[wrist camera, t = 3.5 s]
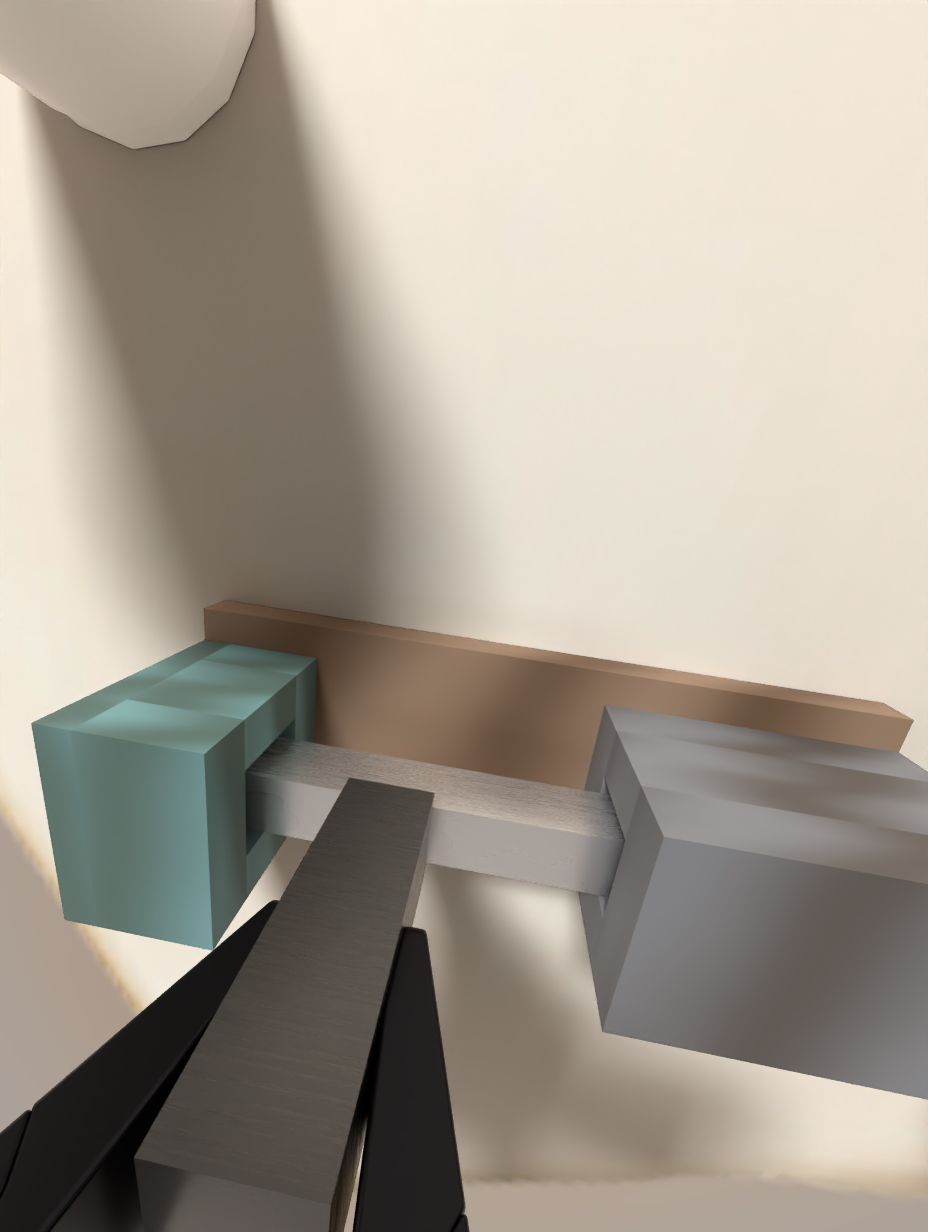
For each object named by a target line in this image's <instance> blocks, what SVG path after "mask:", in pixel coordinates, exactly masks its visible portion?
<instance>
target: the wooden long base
mask: <svg viewBox="0 0 928 1232" xmlns="http://www.w3.org/2000/svg"><path fill="white" fill-rule="evenodd" d="M204 624H205V640H204V641H202V642H200V643H198V644H196V645H193V646H191V647H189V648H187V649H185V650H183V651H181V652H179V653H177V654H175V655H173V656H170V657H168V658H166V659H164V660H162V661H160V662H158V663H156V664H154V665H152V666H150V667H148V668H145V669H143V670H141V671H139V672H137V673H135V674H133V675H131V676H129V677H127V678H125V679H123V680H120V681H118V682H116V683H114V684H112V685H110V686H108V687H106V688H104V689H102V690H100V691H97V692H95V693H93V694H91V695H89V696H87V697H85V698H83V699H81V700H79V701H77V702H75V703H72V704H70V705H68V706H66V707H64V708H62V709H60V710H58V711H56V712H54V713H52V714H49V715H47V716H45V717H43V718H41V719H39V720H37V721H35V722H33V723H31V724H32V730H33V736H34V742H35V748H36V754H37V760H38V766H39V771H40V777H41V783H42V789H43V795H44V801H45V807H46V813H47V819H48V825H49V830H50V836H51V842H52V848H53V854H54V860H55V866H56V872H57V878H58V884H59V890H60V895H61V901H62V907H63V913H64V919H65V920H68V921H73V922H78V923H83V924H88V925H92V926H97V927H102V928H107V929H112V930H116V931H121V932H126V933H131V934H136V935H140V936H145V937H150V938H155V939H160V940H164V941H169V942H174V943H179V944H184V945H188V946H193V947H198V948H203V949H208V950H212V951H213V950H214V948H215V947H216V945H217V943H218V942H219V940H220V939H221V937H222V936H223V934H224V933H225V931H226V930H227V928H228V927H229V925H230V923H231V922H232V920H233V919H234V917H235V916H236V914H237V913H238V911H239V910H240V908H241V907H242V905H243V903H244V902H245V900H246V899H247V897H248V896H249V894H250V893H251V891H252V890H253V888H254V887H255V885H256V884H257V882H258V880H259V879H260V877H261V876H262V874H263V873H264V871H265V870H266V868H267V867H268V865H269V864H270V862H271V860H272V859H273V857H274V856H275V854H276V853H277V851H278V850H279V848H280V847H281V845H282V844H283V842H284V840H285V839H286V837H287V836H283V835H277V834H272V833H267V832H261V831H256V830H251V829H246V793H245V771H246V770H247V769H248V768H249V767H250V765H251V764H252V763H253V762H254V761H255V760H256V759H257V758H258V757H259V756H260V755H261V754H262V753H263V752H264V751H265V750H266V749H267V748H268V747H269V746H270V745H271V743H272V742H273V741H274V740H275V739H276V738H277V737H281V738H287V739H293V740H299V741H304V742H310V743H316V744H322V745H327V746H333V747H339V748H344V749H350V750H356V751H362V752H367V753H373V754H379V755H384V756H390V757H396V758H402V759H407V760H413V761H419V762H424V763H430V764H436V765H442V766H447V767H453V768H459V769H464V770H470V771H476V772H482V773H487V774H493V775H499V776H505V777H510V778H516V779H522V780H527V781H533V782H539V783H545V784H550V785H556V786H562V787H567V788H573V789H579V790H585V791H590V792H596V793H602V794H607V795H610V796H611V799H612V802H613V805H614V808H615V811H616V814H617V817H618V820H619V823H620V826H621V829H622V832H623V835H624V838H625V843H624V847H623V850H622V854H621V857H620V861H619V864H618V868H617V871H616V875H615V878H614V882H613V885H612V889H611V892H610V896H609V897H605V896H600V895H594V894H589V893H584V892H578V893H579V899H580V905H581V911H582V917H583V922H584V928H585V934H586V940H587V946H588V951H589V957H590V963H591V969H592V975H593V981H594V986H595V992H596V998H597V1004H598V1010H599V1016H600V1021H601V1027H602V1032H606V1033H611V1034H616V1035H620V1036H625V1037H630V1038H635V1039H640V1040H644V1041H649V1042H654V1043H659V1044H664V1045H668V1046H673V1047H678V1048H683V1049H688V1050H692V1051H697V1052H702V1053H707V1054H712V1055H716V1056H721V1057H726V1058H731V1059H736V1060H740V1061H745V1062H750V1063H755V1064H760V1065H764V1066H769V1067H774V1068H779V1069H784V1070H788V1071H793V1072H798V1073H803V1074H808V1075H812V1076H817V1077H822V1078H827V1079H832V1080H836V1081H841V1082H846V1083H851V1084H856V1085H860V1086H865V1087H870V1088H875V1089H880V1090H884V1091H889V1092H894V1093H899V1094H904V1095H908V1096H913V1097H918V1098H923V1099H928V772H927V771H926V770H924V769H923V768H921V767H920V766H918V765H917V764H915V763H914V762H912V761H911V760H909V759H908V758H906V757H905V756H903V755H902V754H900V753H899V751H900V748H901V746H902V744H903V742H904V740H905V738H906V736H907V734H908V731H909V729H910V727H911V725H912V723H913V721H914V720H913V719H911V718H909V717H907V716H905V715H904V714H902V713H900V712H898V711H896V710H895V709H893V708H891V707H889V706H888V705H886V704H884V703H880V702H873V701H867V700H861V699H854V698H848V697H841V696H835V695H829V694H822V693H816V692H809V691H803V690H796V689H790V688H784V687H777V686H771V685H764V684H758V683H752V682H745V681H739V680H732V679H726V678H720V677H713V676H707V675H700V674H694V673H688V672H681V671H675V670H668V669H662V668H655V667H649V666H643V665H636V664H630V663H623V662H617V661H611V660H604V659H598V658H591V657H585V656H579V655H572V654H566V653H559V652H553V651H546V650H540V649H534V648H527V647H521V646H514V645H508V644H502V643H495V642H489V641H482V640H476V639H470V638H463V637H457V636H450V635H444V634H438V633H431V632H425V631H418V630H412V629H405V628H399V627H393V626H386V625H380V624H373V623H367V622H361V621H354V620H348V619H341V618H335V617H329V616H322V615H316V614H309V613H303V612H297V611H290V610H284V609H277V608H271V607H264V606H258V605H252V604H245V603H239V602H232V601H226V600H225V601H222V602H219V603H217V604H214V605H211V606H209V607H206V608H204Z"/></svg>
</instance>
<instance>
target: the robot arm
mask: <svg viewBox="0 0 928 1232" xmlns="http://www.w3.org/2000/svg"><path fill="white" fill-rule="evenodd" d="M278 902H279V900H273V901H271V902H269V903H268V904H267V905H266V906H264V907H263V908H262V909H261V910H260V911H259V912H257V913H256V914H255V915H254V916H253V917H252V918H250V919H249V920H248V921H247V922H246V923H245V924H243V925H242V926H241V927H240V928H239V929H238V930H236V931H235V932H234V933H233V934H232V935H231V936H229V937H228V938H227V939H226V940H225V941H224V942H222V943H221V944H220V945H219V946H218V947H217V948H215V949H214V950H213V951H212V952H211V953H210V954H208V955H207V956H206V957H205V958H204V959H203V960H201V961H200V962H199V963H198V964H197V965H196V966H194V967H193V968H192V969H191V970H190V971H189V972H187V973H186V974H185V975H184V976H183V977H182V978H181V979H179V980H178V981H177V982H176V983H175V984H174V985H172V986H171V987H170V988H169V989H168V990H167V991H165V992H164V993H163V994H162V995H161V996H160V997H158V998H157V999H156V1000H155V1001H154V1002H153V1003H151V1004H150V1005H149V1006H148V1007H147V1008H146V1009H144V1010H143V1011H142V1012H141V1013H140V1014H139V1015H137V1016H136V1017H135V1018H134V1019H133V1020H132V1021H130V1022H129V1023H128V1024H127V1025H126V1026H125V1027H123V1028H122V1029H121V1030H120V1031H119V1032H118V1033H116V1034H115V1035H114V1036H113V1037H112V1038H111V1039H109V1040H108V1041H107V1042H106V1043H105V1044H104V1045H102V1046H101V1047H100V1048H99V1049H98V1050H97V1051H95V1052H94V1053H93V1054H92V1055H91V1056H90V1057H88V1058H87V1059H86V1060H85V1061H84V1062H83V1063H82V1064H80V1065H79V1066H78V1067H77V1068H76V1069H75V1070H73V1071H72V1072H71V1073H70V1074H69V1075H68V1076H66V1077H65V1078H64V1079H63V1080H62V1081H61V1082H59V1083H58V1084H57V1085H56V1086H55V1087H54V1088H52V1089H51V1090H50V1091H49V1092H48V1093H47V1094H45V1095H44V1096H43V1097H42V1098H41V1099H40V1100H38V1101H37V1102H36V1103H35V1104H34V1106H33V1108H32V1111H31V1110H27V1111H25V1112H24V1113H23V1114H22V1115H21V1116H19V1117H18V1118H17V1119H16V1120H15V1121H14V1122H12V1123H11V1124H10V1125H9V1126H8V1127H7V1128H6V1129H4V1130H3V1131H2V1132H1V1133H0V1232H144V1227H143V1220H142V1213H141V1206H140V1199H139V1191H138V1184H137V1177H136V1170H135V1163H134V1156H135V1155H136V1153H137V1151H138V1149H139V1148H140V1146H141V1144H142V1142H143V1141H144V1139H145V1137H146V1135H147V1133H148V1132H149V1130H150V1128H151V1126H152V1125H153V1123H154V1121H155V1119H156V1118H157V1116H158V1114H159V1112H160V1111H161V1109H162V1107H163V1105H164V1103H165V1102H166V1100H167V1098H168V1096H169V1095H170V1093H171V1091H172V1089H173V1088H174V1086H175V1084H176V1082H177V1081H178V1079H179V1077H180V1075H181V1073H182V1072H183V1070H184V1068H185V1066H186V1065H187V1063H188V1061H189V1059H190V1058H191V1056H192V1054H193V1052H194V1051H195V1049H196V1047H197V1045H198V1043H199V1042H200V1040H201V1038H202V1036H203V1035H204V1033H205V1031H206V1029H207V1028H208V1026H209V1024H210V1022H211V1021H212V1019H213V1017H214V1015H215V1013H216V1012H217V1010H218V1008H219V1006H220V1005H221V1003H222V1001H223V999H224V998H225V996H226V994H227V992H228V991H229V989H230V987H231V985H232V983H233V982H234V980H235V978H236V976H237V975H238V973H239V971H240V969H241V968H242V966H243V964H244V962H245V961H246V959H247V957H248V955H249V953H250V952H251V950H252V948H253V946H254V945H255V943H256V941H257V939H258V938H259V936H260V934H261V932H262V931H263V929H264V927H265V925H266V923H267V922H268V920H269V918H270V916H271V915H272V913H273V911H274V909H275V908H276V906H277V904H278ZM464 1212H465V1200H464V1192H463V1185H462V1178H461V1171H460V1164H459V1157H458V1150H457V1143H456V1136H455V1129H454V1122H453V1115H452V1108H451V1101H450V1094H449V1087H448V1080H447V1073H446V1066H445V1059H444V1052H443V1045H442V1038H441V1031H440V1024H439V1017H438V1010H437V1003H436V996H435V989H434V982H433V975H432V967H431V960H430V953H429V946H428V939H427V934H426V931H425V930H423V929H419V928H414V927H409V926H407V927H405V929H404V932H403V936H402V939H401V943H400V947H399V951H398V954H397V958H396V962H395V966H394V970H393V973H392V977H391V981H390V985H389V989H388V992H387V996H386V1000H385V1004H384V1008H383V1012H382V1016H381V1020H380V1026H379V1033H378V1041H377V1049H376V1056H375V1064H374V1071H373V1079H372V1087H371V1094H370V1102H369V1110H368V1117H367V1125H366V1132H365V1140H364V1148H363V1155H362V1163H361V1171H360V1178H359V1186H358V1193H357V1201H356V1209H355V1217H354V1224H353V1232H469V1226H468V1219H467V1216H466V1215H465V1214H464Z"/></svg>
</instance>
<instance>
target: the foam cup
mask: <svg viewBox="0 0 928 1232" xmlns="http://www.w3.org/2000/svg"><path fill="white" fill-rule="evenodd" d="M255 2H256V0H0V73H1V74H2V75H4V76H5V77H7V78H8V79H10V80H11V81H13V82H14V83H16V84H17V85H18V86H20V87H21V88H23V89H24V90H26V91H27V92H29V93H30V94H32V95H33V96H35V97H36V98H38V99H39V100H41V101H42V102H44V103H45V104H47V105H48V106H49V107H51V108H52V109H55V110H57V111H59V112H61V113H64V114H66V115H67V116H69V117H70V118H71V119H72V120H73V121H74V122H76V123H77V124H78V125H79V126H80V127H83V128H85V129H87V130H90V131H92V132H94V133H96V134H99V135H101V136H103V137H106V138H108V139H110V140H113V141H115V142H117V143H120V144H122V145H124V146H127V147H129V148H131V149H138V148H144V147H150V146H156V145H162V144H168V143H173V142H179V141H185V140H187V139H188V138H189V137H190V136H191V135H192V134H193V133H194V132H195V131H196V130H197V129H198V128H199V127H200V126H202V125H203V124H204V123H205V122H206V121H207V120H208V119H209V118H210V117H211V116H212V115H213V114H214V113H215V112H216V111H218V110H219V109H220V108H221V107H222V106H223V105H224V104H225V103H226V102H227V101H228V100H229V98H230V96H231V93H232V90H233V88H234V85H235V83H236V80H237V77H238V75H239V72H240V70H241V67H242V64H243V62H244V59H245V57H246V54H247V51H248V49H249V46H250V44H251V41H252V38H253V36H254V33H255Z"/></svg>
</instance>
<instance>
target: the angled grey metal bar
mask: <svg viewBox="0 0 928 1232" xmlns="http://www.w3.org/2000/svg"><path fill="white" fill-rule="evenodd" d="M245 793H246V829H251V830H256V831H261V832H267V833H272V834H277V835H283V836H288V837H293V838H298V839H304V840H309V841H313V842H312V844H311V846H310V848H309V849H308V851H307V853H306V855H305V856H304V858H303V860H302V862H301V863H300V865H299V867H298V869H297V871H296V872H295V874H294V876H293V878H292V879H291V881H290V883H289V885H288V886H287V888H286V890H285V892H284V893H283V895H282V897H281V899H280V901H279V902H278V904H277V906H276V908H275V909H274V911H273V913H272V915H271V916H270V918H269V920H268V922H267V923H266V925H265V927H264V929H263V931H262V932H261V934H260V936H259V938H258V939H257V941H256V943H255V945H254V946H253V948H252V950H251V952H250V953H249V955H248V957H247V959H246V961H245V962H244V964H243V966H242V968H241V969H240V971H239V973H238V975H237V976H236V978H235V980H234V982H233V983H232V985H231V987H230V989H229V991H228V992H227V994H226V996H225V998H224V999H223V1001H222V1003H221V1005H220V1006H219V1008H218V1010H217V1012H216V1013H215V1015H214V1017H213V1019H212V1021H211V1022H210V1024H209V1026H208V1028H207V1029H206V1031H205V1033H204V1035H203V1036H202V1038H201V1040H200V1042H199V1043H198V1045H197V1047H196V1049H195V1051H194V1052H193V1054H192V1056H191V1058H190V1059H189V1061H188V1063H187V1065H186V1066H185V1068H184V1070H183V1072H182V1073H181V1075H180V1077H179V1079H178V1081H177V1082H176V1084H175V1086H174V1088H173V1089H172V1091H171V1093H170V1095H169V1096H168V1098H167V1100H166V1102H165V1103H164V1105H163V1107H162V1109H161V1111H160V1112H159V1114H158V1116H157V1118H156V1119H155V1121H154V1123H153V1125H152V1126H151V1128H150V1130H149V1132H148V1133H147V1135H146V1137H145V1139H144V1141H143V1142H142V1144H141V1146H140V1148H139V1149H138V1151H137V1153H136V1155H135V1156H134V1163H135V1170H136V1177H137V1184H138V1191H139V1199H140V1206H141V1213H142V1220H143V1227H144V1232H344V1227H345V1223H346V1219H347V1214H348V1209H349V1205H350V1201H351V1197H352V1192H353V1188H354V1183H355V1179H356V1174H357V1170H358V1166H359V1161H360V1157H361V1152H362V1148H363V1143H364V1139H365V1132H366V1125H367V1117H368V1110H369V1102H370V1094H371V1087H372V1079H373V1071H374V1064H375V1056H376V1049H377V1041H378V1033H379V1026H380V1020H381V1016H382V1012H383V1008H384V1004H385V1000H386V996H387V992H388V989H389V985H390V981H391V977H392V973H393V970H394V966H395V962H396V958H397V954H398V951H399V947H400V943H401V939H402V936H403V932H404V929H405V927H407V926H409V927H412V926H413V922H414V917H415V913H416V908H417V904H418V899H419V895H420V891H421V886H422V882H423V877H424V871H425V863H431V864H436V865H441V866H446V867H452V868H457V869H462V870H467V871H473V872H478V873H483V874H489V875H494V876H499V877H504V878H510V879H515V880H520V881H526V882H531V883H536V884H541V885H547V886H552V887H557V888H563V889H568V890H573V891H578V892H584V893H589V894H594V895H600V896H605V897H609V896H610V892H611V889H612V885H613V882H614V878H615V875H616V871H617V868H618V864H619V861H620V857H621V854H622V850H623V847H624V843H625V838H624V835H623V832H622V829H621V826H620V823H619V820H618V817H617V814H616V811H615V808H614V805H613V802H612V799H611V796H610V795H607V794H602V793H596V792H590V791H585V790H579V789H573V788H567V787H562V786H556V785H550V784H545V783H539V782H533V781H527V780H522V779H516V778H510V777H505V776H499V775H493V774H487V773H482V772H476V771H470V770H464V769H459V768H453V767H447V766H442V765H436V764H430V763H424V762H419V761H413V760H407V759H402V758H396V757H390V756H384V755H379V754H373V753H367V752H362V751H356V750H350V749H344V748H339V747H333V746H327V745H322V744H316V743H310V742H304V741H299V740H293V739H287V738H281V737H277V738H276V739H275V740H274V741H273V742H272V743H271V745H270V746H269V747H268V748H267V749H266V750H265V751H264V752H263V753H262V754H261V755H260V756H259V757H258V758H257V759H256V760H255V761H254V762H253V763H252V764H251V765H250V767H249V768H248V769H247V770H246V771H245Z"/></svg>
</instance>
